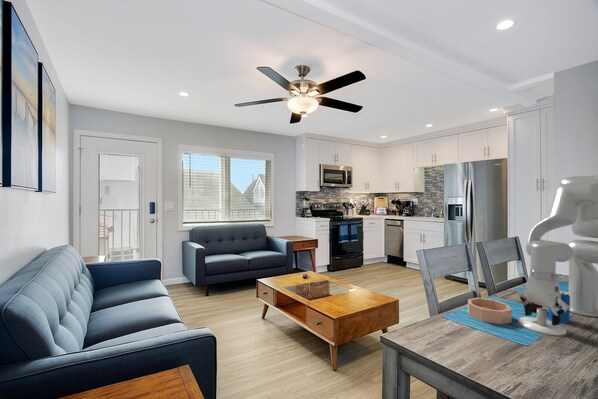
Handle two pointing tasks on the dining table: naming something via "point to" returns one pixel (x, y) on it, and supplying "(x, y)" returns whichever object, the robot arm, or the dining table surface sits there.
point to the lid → (541, 324)
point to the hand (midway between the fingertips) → (541, 319)
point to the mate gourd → (534, 306)
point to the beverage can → (565, 316)
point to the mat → (534, 331)
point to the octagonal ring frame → (489, 311)
